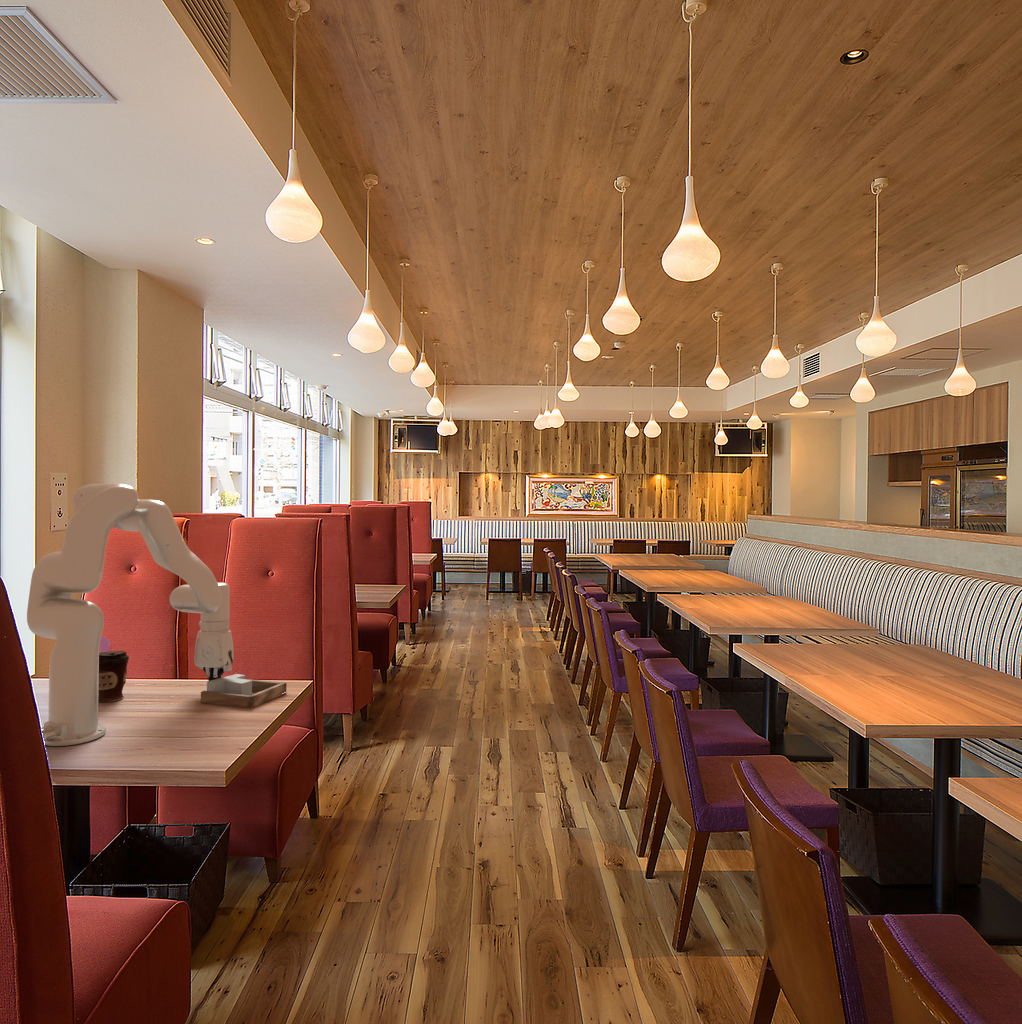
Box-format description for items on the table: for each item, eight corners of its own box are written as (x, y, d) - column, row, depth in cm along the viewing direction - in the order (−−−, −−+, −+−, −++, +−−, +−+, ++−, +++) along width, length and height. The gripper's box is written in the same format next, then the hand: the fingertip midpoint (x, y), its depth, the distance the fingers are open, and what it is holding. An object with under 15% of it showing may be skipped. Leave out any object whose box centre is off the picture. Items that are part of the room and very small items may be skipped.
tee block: (231, 704, 176) (231, 686, 176) (206, 699, 181) (207, 681, 181) (261, 695, 185) (261, 678, 185) (236, 691, 190) (236, 673, 190)
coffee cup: (115, 704, 175) (115, 656, 175) (84, 704, 175) (85, 655, 175) (134, 695, 184) (135, 649, 184) (105, 695, 184) (106, 649, 184)
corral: (251, 708, 173) (251, 697, 173) (200, 702, 178) (200, 691, 178) (286, 693, 188) (286, 682, 188) (239, 688, 192) (239, 678, 192)
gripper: (183, 627, 184) (183, 691, 184) (228, 630, 180) (227, 696, 180) (202, 622, 192) (202, 684, 192) (246, 625, 188) (245, 689, 188)
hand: (214, 690), depth 186 cm, fingers closed
